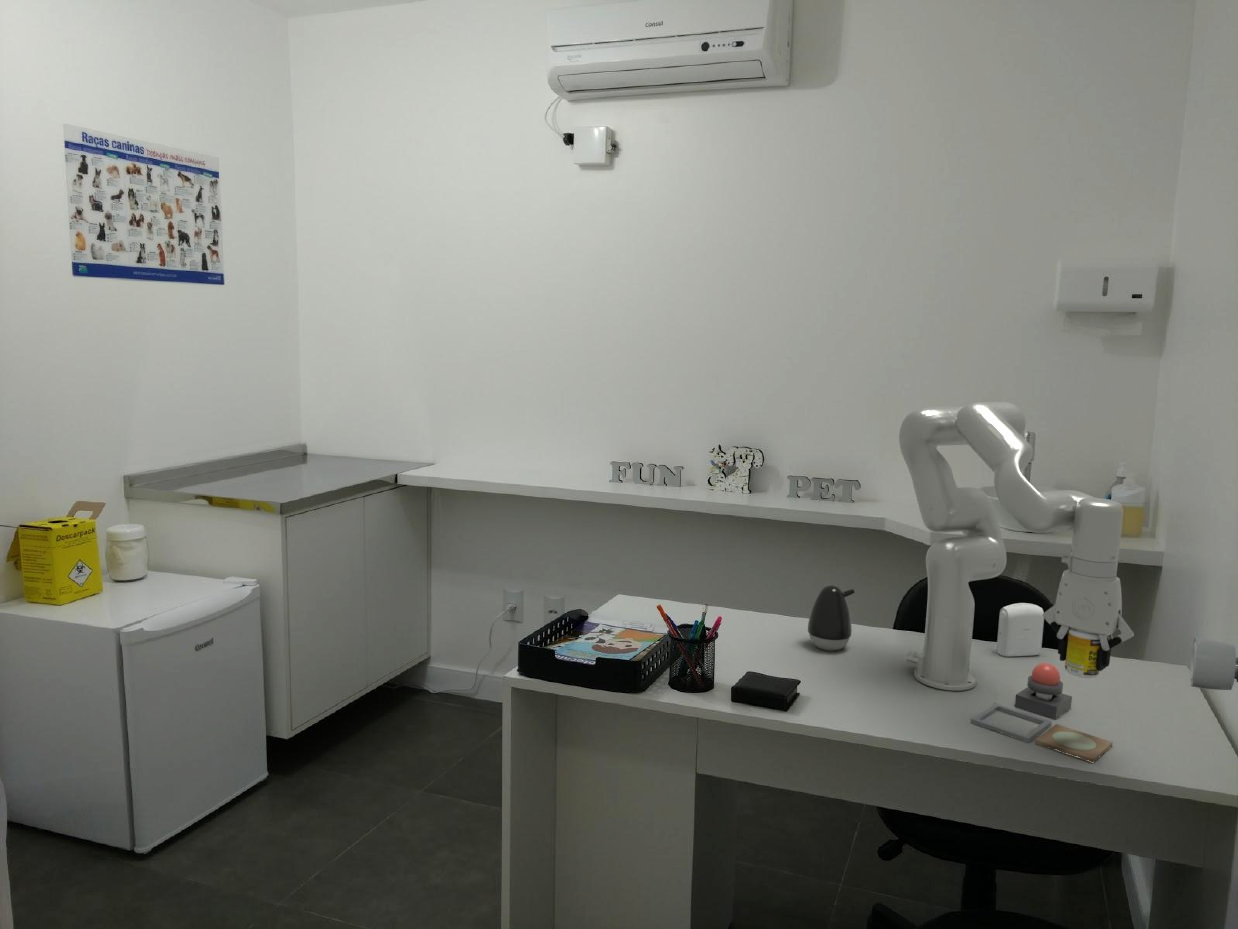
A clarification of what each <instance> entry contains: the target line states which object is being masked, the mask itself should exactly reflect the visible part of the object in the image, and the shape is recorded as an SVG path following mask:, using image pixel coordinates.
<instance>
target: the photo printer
mask: <svg viewBox="0 0 1238 929" xmlns="http://www.w3.org/2000/svg"><path fill="white" fill-rule="evenodd" d="M999 610H1000V611H999V616H998V617H999V619H998V629H997V630H998V631H997V640H996V652H997V654H998V655H999V654H1000V656H1001V655H1002V656H1001V657H1027V656H1040V655H1041V653H1042V646H1043V645H1042V644H1043V635H1044V634H1043V633H1044V625H1045V624H1044V622H1045V618H1044V617H1043V613H1044V609H1043V608H1042V607H1040V606H1039V605H1037V604H1033V603H1026V602H1018V603H1012V604H1009V605H1006V606H1003V607H1002V608H1000V609H999Z"/></svg>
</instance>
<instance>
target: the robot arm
mask: <svg viewBox="0 0 1238 929" xmlns="http://www.w3.org/2000/svg"><path fill="white" fill-rule="evenodd" d="M1025 429H1026V418H1025V415H1024V413H1023V411H1022V410H1021V408H1019V407H1018V406H1017V405H1015V404H1014V403H1012V402H1009V401H976V402H972V403H968V404H966V405H964V406H963V405H962V406H926V407H921V408H917V409H914V410H912V411H911V412H909V413H908V414H907V415H906V417H905V418H904V419H903V421H902V422H901V424H900V428H899V435H898V438H899V439H898V443H899V449H900V452H901V456H902V457H903V459H904V462H905V465H906V467H907V469H908V471H909V474H910V477H911V481H912V484H913V489H914V493H915V494H914V495H915V496H916V501H917V504H918V508H919V511H920V515H921V519H922V522H923V524H924V526H925V528H926V529H928V530H929V531H930V532H932V533H940V534H942V533H943V534H945V533H956V532H962V535H963V536H955V537H947V538H943V539H940V540H937V541H935V542H934V543H932V545H930V547H929V548H928V550H927V552H926V555H925V566H926V568H925V570H926V575H927V604H926V615H925V616H926V617H925V627H924V628H925V629H924V640H923V641H924V642H923V652H921V653H920V652H918V651H915V650H912V649H909V650H908V651H907V654H906V657H907V658H906V661H907V662H909V663H914V664H916V665H917V667H916V668H914V673H913V674H914V675H913V676H914V678H915V679H916V681H919V682H920V683H922V684H923V685H926V686H929V687H932V688H935V689H938V690H939V689H940V690H942V691H943V690H944V691H952V692H953V691H957V692H958V691H959V692H960V691H968V690H971V689H972V688H974V687H975V686H976V684H977V679H976V677H975V675H973V674H972V673H971V672H970V665H971V664H970V661H971V652H972V642H973V641H972V640H973V630H974V618H975V598H974V596H973V593H972V591H971V588H970V586H969V582H973V581H981V580H989V579H994V578H996V577H998V576H1000V575H1001V574H1002V573H1003V572H1004V570H1005V568H1006V566H1007V562H1008V560H1007V551H1006V550H1007V549H1006V546H1005V542H1004V538H1003V536H1002V531H1001V529H1000V528H1001V527H1000V524H999V520H998V517H997V514H996V510H995V507H994V505H993V503H992V500H991V499H990V498H989V496H988V494H986V493H985V492H984V491H982V490H981V489H978V488H976V487H967V486H965V487H958V486H957V484H956V481H955V479H954V478H955V477H954V475H953V470H952V467H951V466H950V463H949V462H948V461H947V460H948V459H946V457H945V456H944V455H943V454H942V453H941V452H940V451H939V450H938V449H937V448H938V447H939V446H941V447H942V446H963V445H964V446H966V445H968V446H969V447H970V448H971V449H972V450H973V451H974V452H975V453H976V454H977V456H978V457H979V458H980V459H981V460H982V461H983V462H984V463H985V465H987V466H988V468H990V470H991V471H992V472H993V474H994V476H993V479H994V480H993V483H994V488H995V493H996V497H997V499H998V501H999V503H1000V505H1001V506H1002V507H1003V508H1004V510H1005V511H1007V513H1008V514H1009V515H1010V516H1011V517H1012V518H1013V519H1014V520H1015V522H1017V523H1018V525H1020V526H1021V527H1022V528H1024V529H1025V530H1026V531H1029V532H1031V533H1034V534H1035V533H1036V534H1047V533H1048V534H1049V533H1058V532H1072V539H1071V548H1070V554H1069V555H1062V557H1061V564H1062V563H1064V564H1066V565H1067V566H1068V567H1067V569H1066V570H1063V572H1062V576H1061V578H1060V581H1059V585H1058V589H1057V594H1056V598H1055V603H1054V605H1053V606H1051V607H1050V608H1048V609H1047V610H1046V611H1045V612H1044V611H1043V612H1044V613H1043V617H1044V621H1045V622H1047V623H1048V624H1049V626H1050V628H1051V629H1052V630H1053V631H1054V633H1055V634H1056V638H1057V639H1058V646H1057V647H1058V648H1057V654H1058V655H1059V661H1062V662H1064V661H1066V652H1067V643H1068V634H1069V629H1070V628H1073V629H1077V630H1081V631H1085V632H1089V633H1093V634H1098V635H1099V638H1100V642H1101V648H1100V649H1099V650H1098V656H1097V665H1096V669H1097V670H1098V671H1099V672H1102V671H1103V670H1105V669H1106V668H1108V667H1109V665H1110V663H1111V661H1110V660H1111V652H1112V649H1113V648H1115V647H1116V646H1118V645H1119V644H1121V643H1124V642H1125V641H1128V640H1130V639H1131V638H1133V637H1134V636H1135V633H1134V631H1133V629H1131V628H1130V626H1129V625H1128V624H1127V621H1125V619H1124V618H1123V617H1122V610H1123V609H1122V608H1123V601H1122V598H1123V597H1122V595H1123V594H1122V585H1121V579H1120V578H1119V577H1118V576H1117V572H1118V565H1119V556H1120V547H1121V546H1120V545H1121V537H1122V530H1123V519H1124V507H1123V505H1122V504H1121V503H1120V502H1119V501H1116V500H1114V499H1108V498H1101V497H1100V498H1099V497H1095V496H1092V495H1091V494H1090V495H1089V494H1087V493H1084V492H1083V491H1079V490H1072V489H1070V490H1069V489H1068V490H1067V489H1066V490H1048V491H1038V489H1036V488H1035V486H1033V484H1031V483H1030V481H1029V480H1028V479H1027V478H1026V477H1025V476H1024V474H1023V472H1022V471H1023V470H1024V469H1025V468H1026V467H1027V466H1028V464H1030V462H1031V460H1032V459H1033V454H1034V450H1033V447H1032V445H1031V444H1030V443H1029V442H1028V441H1027V440H1026V439H1025V438H1024V437H1023V436H1022V435H1023V433H1025V432H1024V431H1025ZM1118 630H1119V631H1120V634H1118V635H1116V636H1115V637H1113V634H1114V633H1115V631H1118Z"/></svg>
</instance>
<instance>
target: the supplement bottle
mask: <svg viewBox="0 0 1238 929" xmlns="http://www.w3.org/2000/svg"><path fill="white" fill-rule="evenodd" d="M1100 648H1101V642H1100V638H1099V635H1098V634H1093V633H1089V632H1085V631H1081V630H1077V629H1073V628H1070V629H1069V634H1068V643H1067V652H1066V660H1065V662H1064V670H1065V671H1066V673H1068V674H1069V675H1072V676H1073V677H1078V678H1081V679H1082V678H1083V679H1095V678H1097V677H1098V676H1099V674H1100V673H1099V672H1100V671H1098V670H1097V669H1096V665H1097V656H1098V650H1099V649H1100Z"/></svg>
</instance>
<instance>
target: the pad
mask: <svg viewBox="0 0 1238 929" xmlns="http://www.w3.org/2000/svg"><path fill="white" fill-rule="evenodd" d="M1034 741H1035V742H1034V744H1035V743H1037V744H1039V745H1038V746H1040V745H1041V747H1043V746H1046V747H1049V748H1051V749H1050V750H1052V749H1057V750H1059V751H1061V752H1064V753H1068V754H1071V755H1073V756H1078V757H1080V758H1082V759H1084V760H1089V761H1091V762H1094V761H1095V760H1096V761H1098V760H1099V759H1100V758H1099V756H1101V755H1102V754H1103V753H1104V754H1105V753H1107V752H1108V751H1109V750H1110V749H1111V748H1112V747H1113V744H1114V742H1113V741H1111V740H1107V739H1103V738H1101V737H1098V736H1094V735H1091V734H1089V733H1085V732H1082V731H1079V730H1077V729H1074V728H1070V727H1067V726H1064V725H1061V724H1057V723H1056V724H1054V725H1053V726H1050V727H1049V728H1048V730H1047V729H1046V730H1045V731H1044V732H1043V733H1041V735H1040V736H1037V737H1036V739H1035V740H1034ZM1037 744H1036V745H1037ZM1111 746H1112V747H1111ZM1046 747H1045V748H1046ZM1110 747H1111V748H1110ZM1049 748H1048V749H1049ZM1108 749H1109V750H1108ZM1107 750H1108V751H1107ZM1061 752H1060V753H1061ZM1064 753H1063V754H1064ZM1104 754H1103V755H1104ZM1103 755H1102V756H1103ZM1102 756H1101V757H1102ZM1098 758H1099V759H1098ZM1097 759H1098V760H1097ZM1084 760H1083V761H1084ZM1096 761H1095V762H1096ZM1095 762H1094V763H1095Z"/></svg>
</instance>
